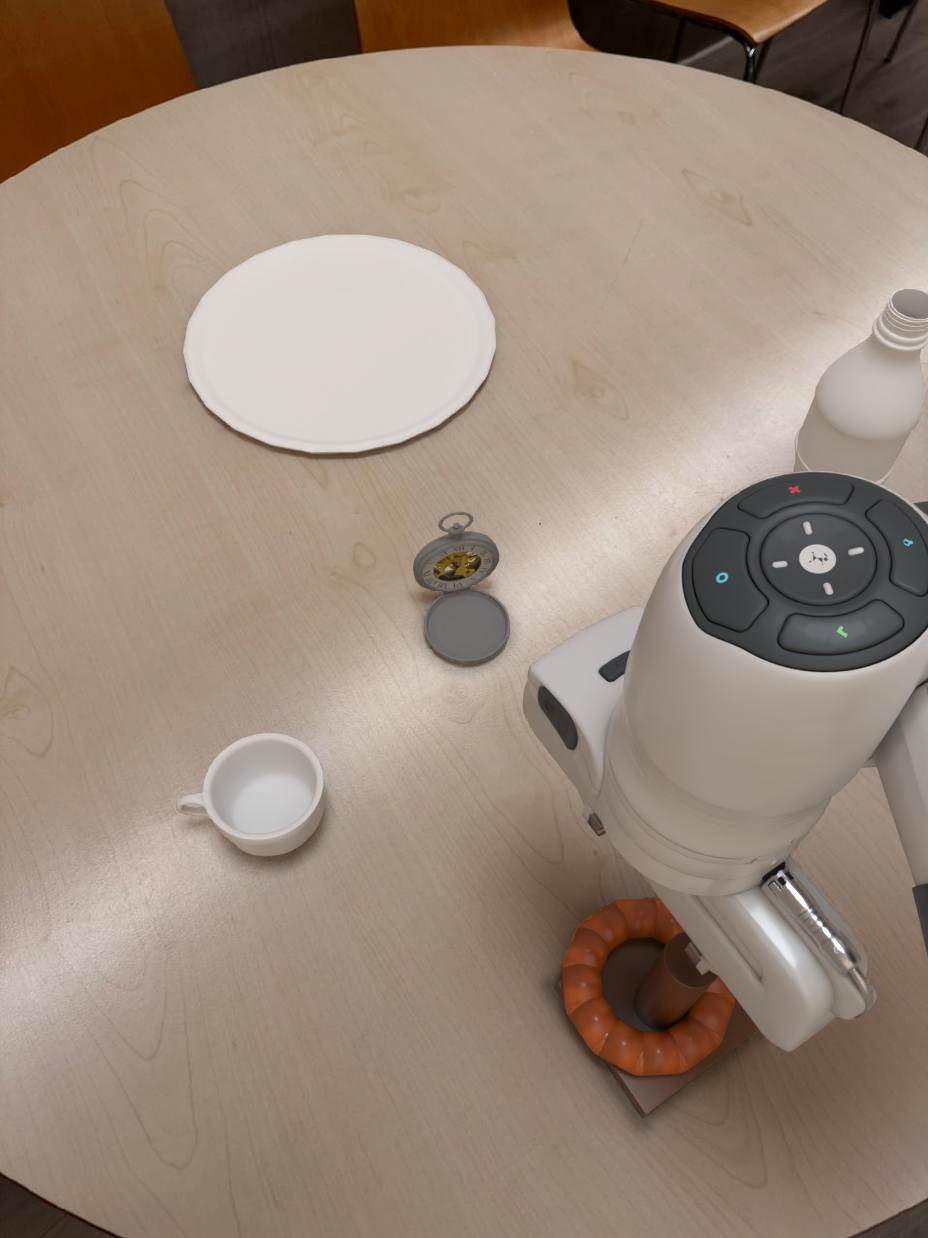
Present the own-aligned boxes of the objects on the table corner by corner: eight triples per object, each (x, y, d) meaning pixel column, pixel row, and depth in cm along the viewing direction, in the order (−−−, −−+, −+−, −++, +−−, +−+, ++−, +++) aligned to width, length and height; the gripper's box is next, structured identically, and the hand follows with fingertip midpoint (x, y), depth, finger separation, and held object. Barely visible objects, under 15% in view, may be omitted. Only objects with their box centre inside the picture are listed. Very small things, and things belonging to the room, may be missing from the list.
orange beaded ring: (763, 1014, 63) (773, 1005, 61) (629, 1115, 60) (635, 1109, 58) (657, 875, 68) (663, 863, 66) (528, 962, 65) (530, 952, 63)
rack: (755, 1031, 64) (814, 985, 54) (642, 1118, 61) (681, 1087, 51) (664, 911, 68) (702, 846, 58) (554, 987, 65) (573, 934, 55)
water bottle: (740, 553, 84) (836, 313, 63) (778, 497, 87) (882, 250, 66) (822, 595, 82) (949, 361, 61) (858, 536, 85) (991, 294, 64)
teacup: (329, 759, 74) (320, 725, 69) (334, 862, 70) (326, 834, 65) (188, 773, 73) (171, 741, 69) (185, 878, 69) (166, 851, 64)
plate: (239, 502, 86) (237, 493, 85) (149, 288, 100) (146, 278, 99) (549, 400, 93) (550, 390, 92) (424, 213, 107) (423, 202, 106)
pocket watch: (469, 683, 77) (471, 611, 69) (390, 619, 80) (382, 542, 72) (540, 616, 80) (549, 539, 72) (461, 557, 83) (461, 476, 75)
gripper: (946, 952, 39) (833, 1024, 51) (616, 578, 48) (585, 713, 60) (825, 1049, 37) (736, 1101, 49) (505, 641, 46) (495, 767, 58)
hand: (651, 885), depth 54 cm, fingers open, 7 cm apart
